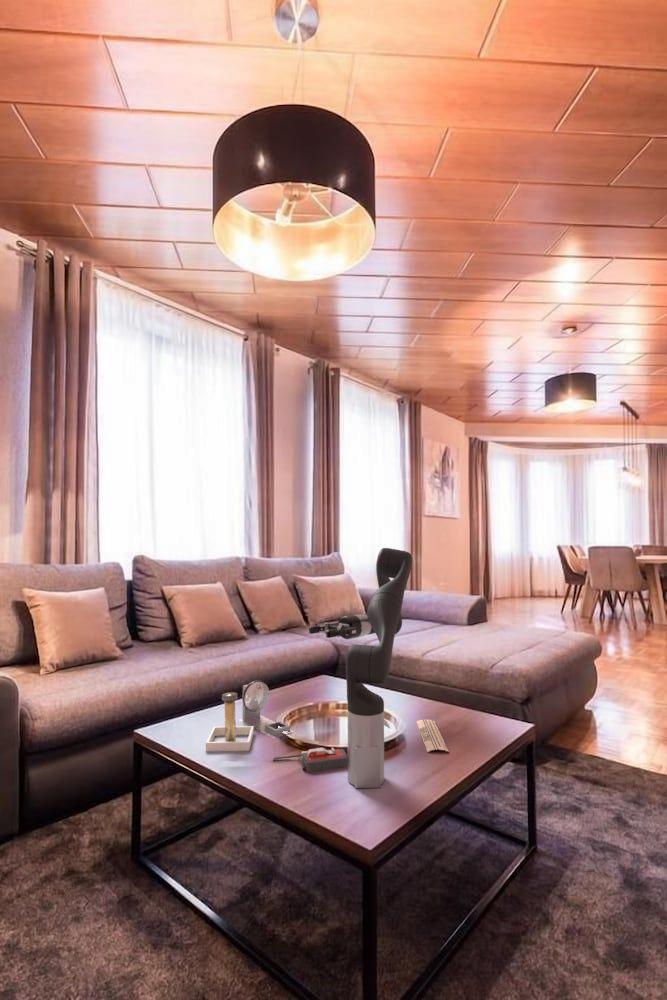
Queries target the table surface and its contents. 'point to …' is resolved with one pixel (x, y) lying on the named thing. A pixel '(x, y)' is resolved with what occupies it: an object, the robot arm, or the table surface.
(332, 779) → the table surface
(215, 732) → the parts tray
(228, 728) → the lock pin
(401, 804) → the table surface
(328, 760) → the walkie-talkie
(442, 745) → the newspaper
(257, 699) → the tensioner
